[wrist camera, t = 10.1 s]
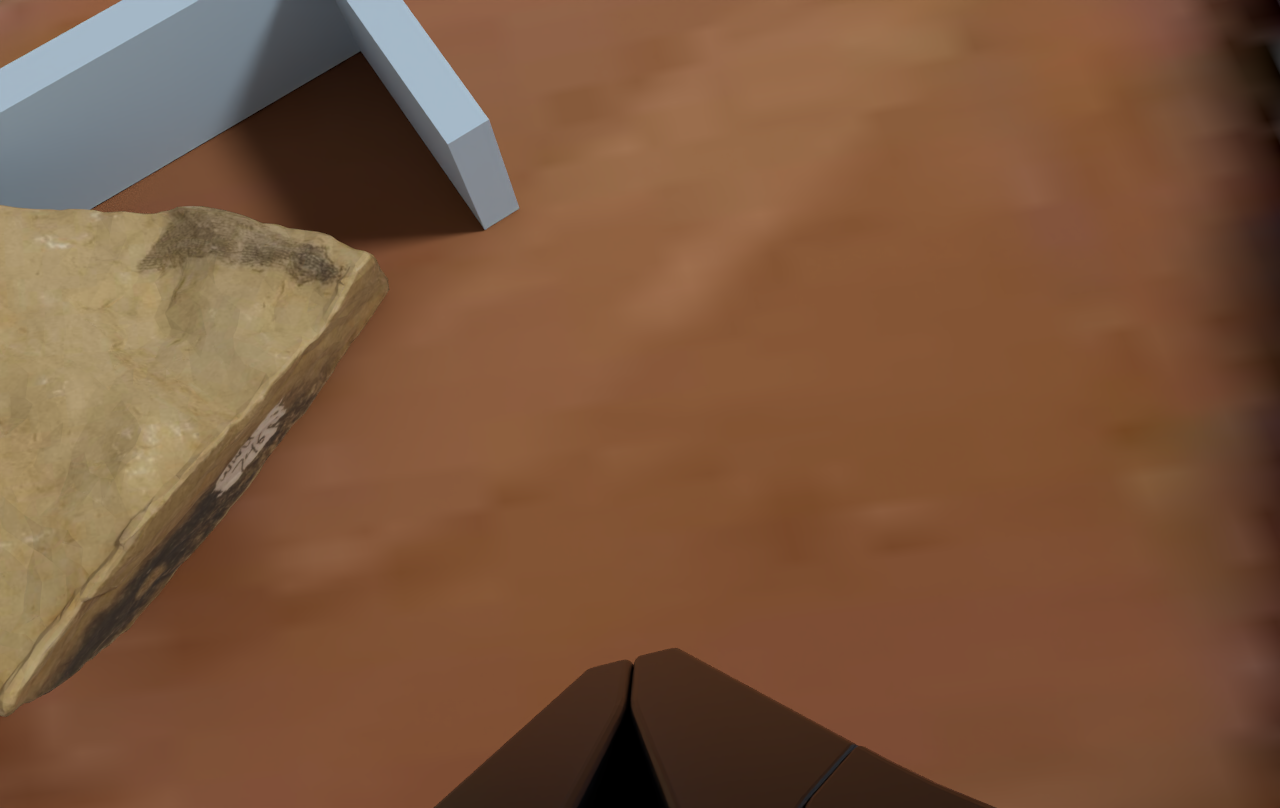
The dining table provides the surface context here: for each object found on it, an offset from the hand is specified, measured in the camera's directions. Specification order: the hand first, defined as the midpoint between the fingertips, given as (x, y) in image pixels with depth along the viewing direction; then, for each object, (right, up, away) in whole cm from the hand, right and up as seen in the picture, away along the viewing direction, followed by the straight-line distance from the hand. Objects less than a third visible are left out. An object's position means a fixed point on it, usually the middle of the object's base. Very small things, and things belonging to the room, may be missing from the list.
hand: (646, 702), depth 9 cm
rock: (-8, +1, +12) cm, 15 cm away
